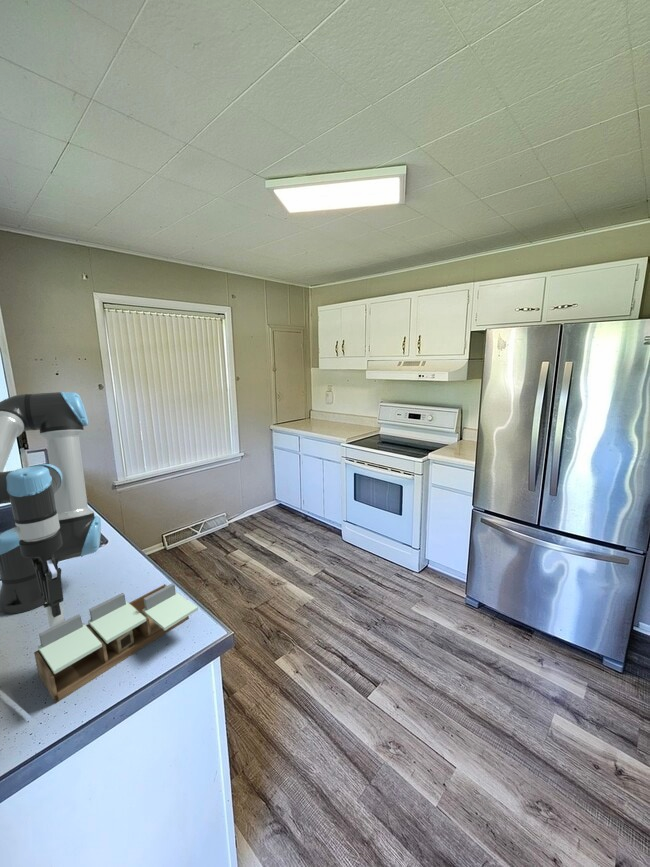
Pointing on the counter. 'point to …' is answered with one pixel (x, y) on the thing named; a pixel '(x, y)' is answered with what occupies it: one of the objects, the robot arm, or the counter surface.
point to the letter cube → (122, 642)
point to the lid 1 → (67, 643)
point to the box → (99, 656)
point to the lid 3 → (167, 607)
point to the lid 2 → (114, 618)
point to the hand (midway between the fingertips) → (57, 625)
